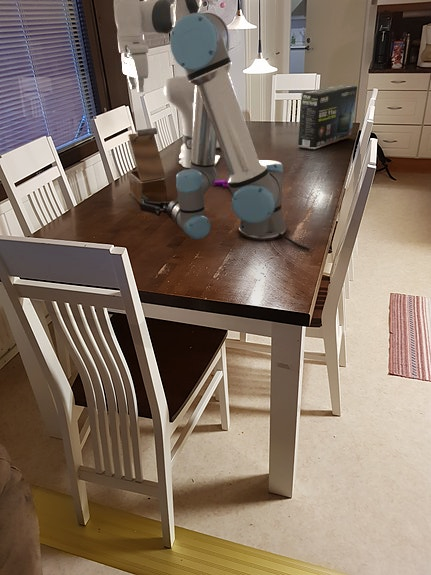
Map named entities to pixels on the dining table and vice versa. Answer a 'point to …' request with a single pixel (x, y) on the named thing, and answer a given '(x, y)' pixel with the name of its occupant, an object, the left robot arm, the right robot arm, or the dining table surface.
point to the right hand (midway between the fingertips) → (161, 194)
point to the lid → (146, 154)
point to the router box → (326, 115)
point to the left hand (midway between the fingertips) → (136, 90)
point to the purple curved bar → (222, 183)
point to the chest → (147, 188)
